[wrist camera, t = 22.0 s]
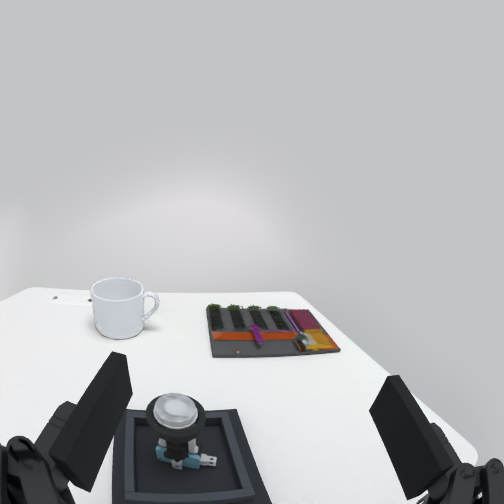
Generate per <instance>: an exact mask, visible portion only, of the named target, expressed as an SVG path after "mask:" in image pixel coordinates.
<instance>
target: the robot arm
mask: <svg viewBox="0 0 504 504" xmlns="http://www.w3.org/2000/svg"><path fill="white" fill-rule="evenodd" d="M132 394H133V392H132V387H131V382H130V376H129V371H128V365H127V358H126V355H124V354H120V353H116V352H113V351H112V352H111V354H110V355H109V357H108V358H107V360H106V361H105V362H104V364H103V365H102V367H101V368H100V370H99V371H98V373H97V374H96V376H95V377H94V379H93V380H92V382H91V383H90V385H89V386H88V388H87V389H86V391H85V393H84V394H83V396H82V397H81V399H80V400H79V402H78V404H77V405H76V404H73V403H71V402H69V401H66V402H65V403H63V404H62V405H60V406H59V407H58V408H57V409H56V411H55V412H54V414H53V417H51V418H50V420H49V423H47V425H46V426H45V428H44V429H43V431H42V432H41V434H40V436H39V437H38V439H37V440H36V442H35V444H33V443H32V442H31V441H30V440H29V439H28V438H26V437H24V436H15V437H13V438H11V439H10V440H9V441H8V443H7V446H6V447H4V446H2V445H1V444H0V504H75V501H74V499H73V497H72V494H71V492H70V490H69V487H68V486H67V484H68V482H69V480H70V481H71V482H72V483H73V485H75V486H77V487H79V488H81V489H83V490H85V491H88V492H91V490H92V487H93V484H94V482H95V479H96V477H97V474H98V472H99V469H100V467H101V465H102V462H103V460H104V457H105V455H106V453H107V450H108V448H109V446H110V443H111V441H112V439H113V436H114V434H115V432H116V429H117V427H118V425H119V423H120V420H121V418H122V416H123V414H124V412H125V409H126V407H127V405H128V403H129V401H130V399H131V396H132ZM369 412H370V414H371V416H372V418H373V421H374V423H375V425H376V427H377V429H378V432H379V434H380V436H381V439H382V441H383V443H384V445H385V448H386V450H387V452H388V455H389V457H390V459H391V462H392V464H393V466H394V469H395V471H396V474H397V476H398V478H399V481H400V483H401V486H402V488H403V491H404V493H405V496H406V498H407V500H409V499H412V498H415V497H417V496H420V495H421V494H422V493H423V492H425V491H426V490H428V492H429V493H428V494H426V495H425V496H424V497H423V498H421V499H420V500H419V501H418V502H417V504H419V503H421V502H422V501H423V500H424V502H423V503H422V504H504V466H503V464H502V462H501V461H500V460H498V459H496V458H493V459H491V460H490V461H488V462H487V464H485V465H484V466H478V467H474V466H473V465H471V464H469V463H462V462H461V461H460V459H459V457H458V456H457V454H456V452H455V451H454V449H453V447H452V446H451V444H450V442H448V439H447V437H445V434H444V433H443V431H442V429H441V428H440V427H439V426H437V425H436V424H435V423H429V421H428V419H427V418H426V416H425V415H424V413H423V411H422V410H421V408H420V407H419V405H418V404H417V402H416V400H415V399H414V397H413V396H412V394H411V393H410V391H409V390H408V388H407V387H406V385H405V384H404V382H403V381H402V379H401V378H400V376H399V375H395V376H394V375H393V376H387V378H386V380H385V382H384V384H383V386H382V388H381V390H380V392H379V394H378V396H377V397H376V399H375V401H374V403H373V405H372V406H371V408H370V410H369ZM481 492H482V497H481V498H478V494H480V493H481Z"/></svg>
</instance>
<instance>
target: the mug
mask: <svg viewBox="0 0 504 504" xmlns="http://www.w3.org/2000/svg"><path fill="white" fill-rule="evenodd" d="M145 297H152V298H154V300H155V306H154V308H153V309H152V310H151V311H150V312H148V313H147V314H146V315H145V316H144V298H145ZM91 299H92V305H93V311H94V317H95V322H96V327H97V330H98V331H99V332H100V333H101V334H102V335H104V336H106V337H108V338H112V339H127V338H131V337H134V336H136V335H137V334H139V333H140V332H141V331H142V329H143V327H144V320H146V319H148V318H149V317H150V316H151V315H152V314H153V313H154V312H155V311H156V310H157V309H158V306H159V298H158V296H157V295H156V294H155V293H154V292H146V293H144V287H143V285H142V284H140V283H139V282H137V281H135V280H132V279H128V278H108V279H103V280H100V281H98V282H96V283H95V284H93V285H92V287H91Z"/></svg>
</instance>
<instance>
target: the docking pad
mask: <svg viewBox="0 0 504 504" xmlns="http://www.w3.org/2000/svg"><path fill="white" fill-rule="evenodd" d="M205 414H206V421H205V425H204V427H203V428H202V430H201V431H200V432H199V434H198V436H197V438H196V444H201V445H202V454H207V456H212V457H216V458H217V459H216V466H210V465H205V466H204V465H200V467H199V469H195V468H190V467H186V466H182V469H176V468H173V467H172V463H169V462H165V461H160V460H158V459H157V454H156V447H157V444H158V441H159V439H160V438H159V436H158V435H157V434H156V433H155V431H154V430H153V429H152V428H151V427H150V425H149V424H148V422H147V418H146V410H131V409H125V412H124V414H123V416H122V418H121V420H120V423H119V425H118V427H117V429H116V432H115V434H114V446H113V466H112V504H272V503H271V501H270V498H269V496H268V493H267V491H266V489H265V486H264V484H263V481H262V478H261V476H260V473H259V471H258V468H257V466H256V463H255V460H254V458H253V455H252V452H251V449H250V447H249V444H248V441H247V438H246V436H245V433H244V430H243V427H242V424H241V421H240V418H239V415H238V412H237V409H229V410H213V411H205ZM154 420H155V422H156V423H157V419H156V418H155V419H154ZM197 422H198V420H197V419H196V424H197ZM210 460H214V459H213V458H210ZM210 464H213V462H210ZM176 467H179V466H176Z"/></svg>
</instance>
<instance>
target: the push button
mask: <svg viewBox="0 0 504 504" xmlns="http://www.w3.org/2000/svg"><path fill="white" fill-rule="evenodd" d="M146 418H147V422H148V424H149V425H150V427H151V428H152V429H153V430H154V431H155V433H156V434H157V435H158V436H159V438H160V439H159V441H158V444H157V447H156V454H157V459H158V460H160V461H165V462H169V463H172V467H173V468H176V469H182V466H186V467H190V468H195V469H199V467H200V465H204V466H205V465H210V466H216V459H217V458H216V457H212V456H207V454H202V445H201V444H196V438H197V436H198V434H199V432H200V431H201V430H202V428H203V427H204V425H205V421H206V414H205V410H204V408H203V407H202V405H201V404H200V403H199V402H198V401H196V400H195V399H193V398H191V397H189V396H186V395H182V394H176V393H169V394H165V395H161V396H158V397H156V398H155V399H153V400H152V401H151V402H150V403H149V405H148V406H147V409H146ZM155 418H156V419H157V423H156V422H155V420H154V419H155ZM196 419H197V420H198V422H197V424H196ZM210 458H213V459H214V460H210ZM210 462H213V464H210ZM176 466H179V467H176Z"/></svg>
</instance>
